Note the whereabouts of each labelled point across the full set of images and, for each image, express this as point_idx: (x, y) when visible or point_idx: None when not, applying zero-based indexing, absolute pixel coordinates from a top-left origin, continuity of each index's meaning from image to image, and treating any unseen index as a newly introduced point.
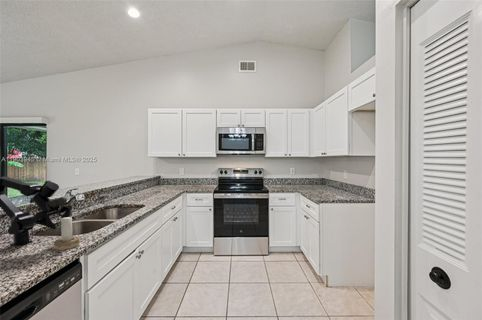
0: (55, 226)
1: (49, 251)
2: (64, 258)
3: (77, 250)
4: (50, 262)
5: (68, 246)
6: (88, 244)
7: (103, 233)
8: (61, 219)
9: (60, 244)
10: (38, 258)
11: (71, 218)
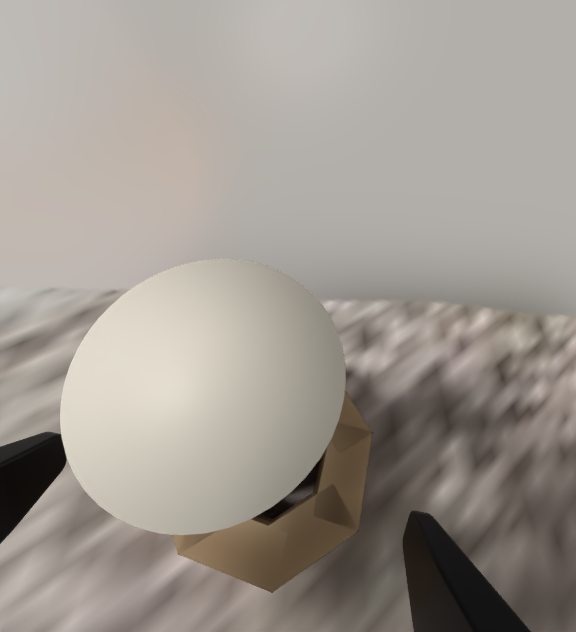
0: (431, 532)
1: (390, 538)
2: (474, 321)
3: (351, 321)
4: (547, 364)
5: None
6: None
7: (9, 332)
8: (326, 445)
9: (369, 437)
10: (536, 516)
11: (209, 267)
